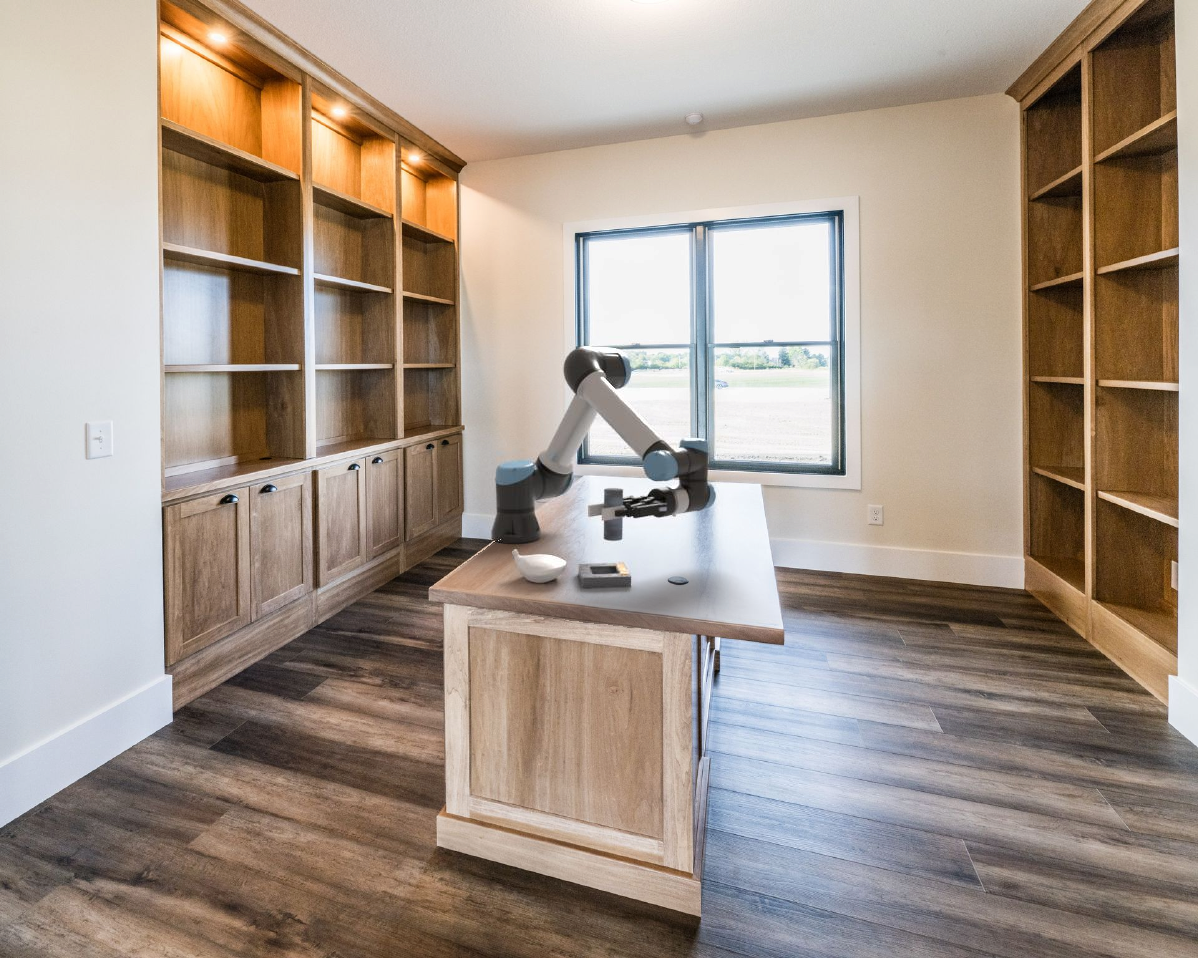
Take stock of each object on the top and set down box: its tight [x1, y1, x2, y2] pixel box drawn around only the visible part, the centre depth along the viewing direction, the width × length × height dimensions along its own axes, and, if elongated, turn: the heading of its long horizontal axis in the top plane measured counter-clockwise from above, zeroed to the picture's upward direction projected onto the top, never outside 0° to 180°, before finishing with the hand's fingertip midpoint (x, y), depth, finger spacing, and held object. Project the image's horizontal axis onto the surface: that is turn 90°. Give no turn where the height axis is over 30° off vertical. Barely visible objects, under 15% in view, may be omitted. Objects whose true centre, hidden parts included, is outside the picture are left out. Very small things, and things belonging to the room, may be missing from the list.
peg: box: [603, 487, 624, 542], centre depth 155 cm, size 4×4×12 cm
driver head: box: [511, 549, 568, 584], centre depth 157 cm, size 10×11×12 cm
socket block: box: [578, 562, 632, 589], centre depth 158 cm, size 12×12×3 cm
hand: (595, 512), depth 152 cm, fingers closed on peg, 4 cm apart
